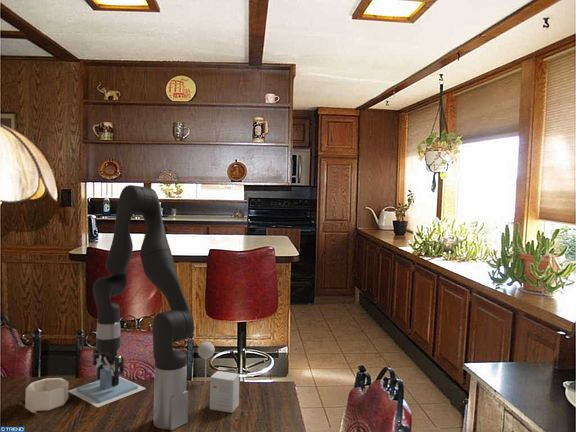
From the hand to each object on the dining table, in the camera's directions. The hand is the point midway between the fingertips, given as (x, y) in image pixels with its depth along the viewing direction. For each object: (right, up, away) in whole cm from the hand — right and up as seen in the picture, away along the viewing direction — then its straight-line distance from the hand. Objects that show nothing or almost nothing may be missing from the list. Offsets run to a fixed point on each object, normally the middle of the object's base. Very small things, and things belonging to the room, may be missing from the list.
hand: (107, 382), depth 151 cm
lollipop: (+31, -4, +10) cm, 33 cm away
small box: (+41, -5, -8) cm, 42 cm away
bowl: (-15, -3, -10) cm, 18 cm away
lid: (0, -3, 0) cm, 3 cm away
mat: (0, -3, 0) cm, 3 cm away
